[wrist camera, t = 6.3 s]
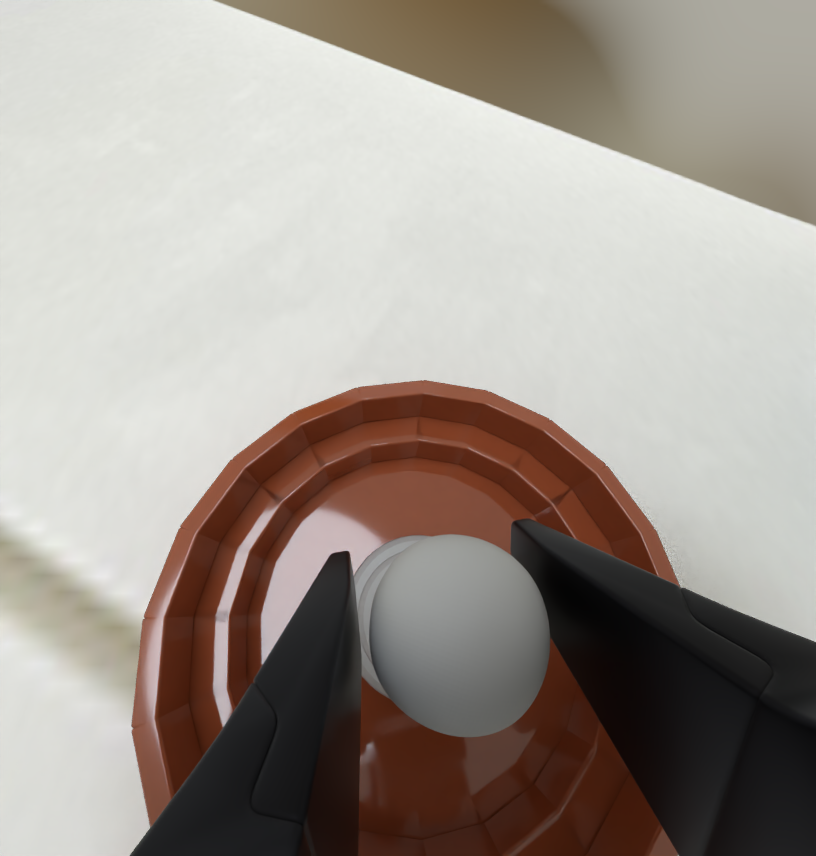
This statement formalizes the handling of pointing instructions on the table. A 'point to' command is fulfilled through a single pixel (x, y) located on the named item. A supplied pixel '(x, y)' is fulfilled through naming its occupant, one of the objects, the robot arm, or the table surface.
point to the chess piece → (452, 632)
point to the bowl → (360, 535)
